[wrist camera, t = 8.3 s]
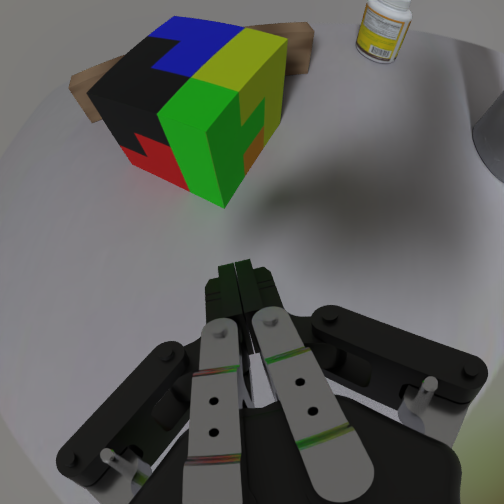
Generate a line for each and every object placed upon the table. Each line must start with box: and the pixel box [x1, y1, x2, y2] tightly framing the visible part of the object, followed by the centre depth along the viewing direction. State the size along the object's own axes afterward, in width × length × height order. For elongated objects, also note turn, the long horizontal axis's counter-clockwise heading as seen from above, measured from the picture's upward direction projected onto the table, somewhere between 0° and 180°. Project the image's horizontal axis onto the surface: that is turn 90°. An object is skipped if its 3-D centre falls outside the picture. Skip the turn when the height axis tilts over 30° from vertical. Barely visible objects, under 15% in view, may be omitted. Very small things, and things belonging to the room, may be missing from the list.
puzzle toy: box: [86, 16, 288, 209], centre depth 21 cm, size 10×10×10 cm
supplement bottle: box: [356, 0, 412, 64], centre depth 25 cm, size 6×6×10 cm
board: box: [69, 22, 314, 123], centre depth 25 cm, size 24×2×6 cm, turn 103°
